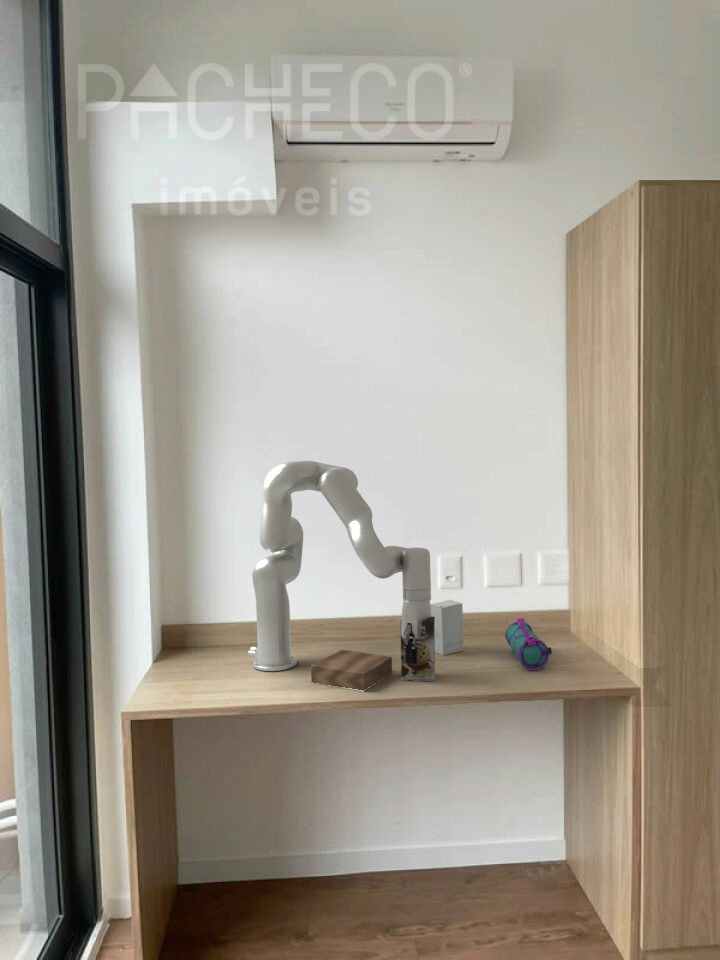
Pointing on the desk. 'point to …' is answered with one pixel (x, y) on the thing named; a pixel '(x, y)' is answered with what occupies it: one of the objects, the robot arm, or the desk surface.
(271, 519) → the robot arm
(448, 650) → the skincare box
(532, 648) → the pencil case
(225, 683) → the desk surface
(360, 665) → the walnut block
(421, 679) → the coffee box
